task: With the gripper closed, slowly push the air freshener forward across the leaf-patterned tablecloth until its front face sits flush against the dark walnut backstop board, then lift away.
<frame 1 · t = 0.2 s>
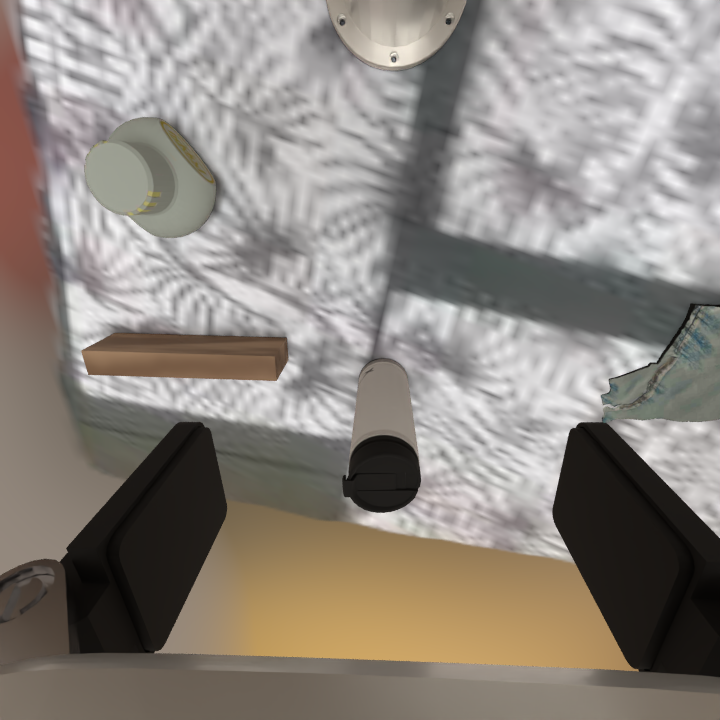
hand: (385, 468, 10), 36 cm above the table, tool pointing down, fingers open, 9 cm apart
air freshener: (176, 181, 42), on the table
travel mug: (381, 379, 50), on the table
board: (201, 346, 49), on the table
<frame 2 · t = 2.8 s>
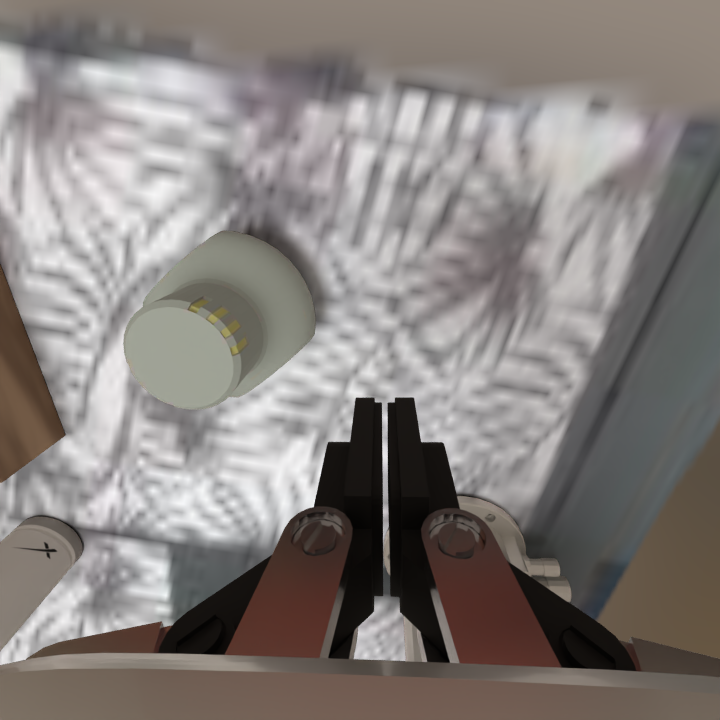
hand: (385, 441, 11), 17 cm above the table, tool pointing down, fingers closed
air freshener: (247, 306, 28), on the table
travel mug: (53, 536, 38), on the table
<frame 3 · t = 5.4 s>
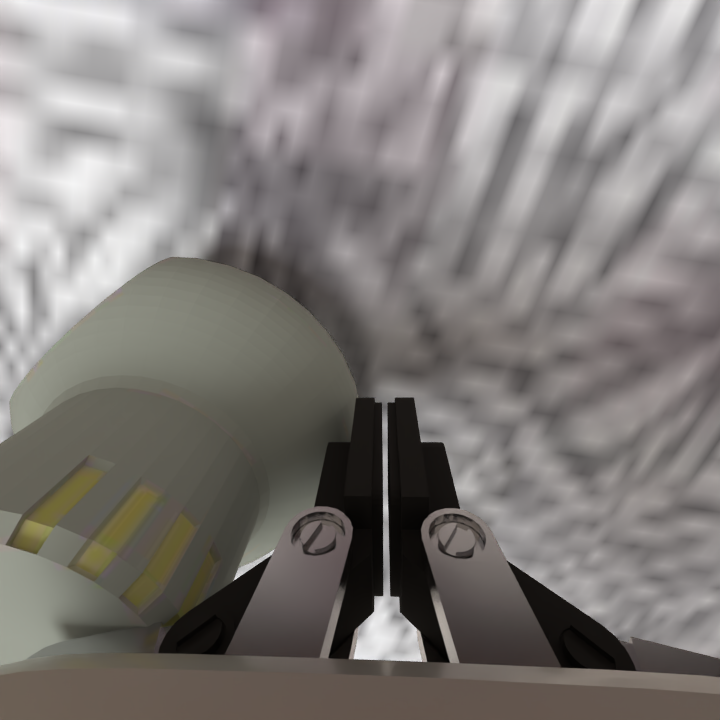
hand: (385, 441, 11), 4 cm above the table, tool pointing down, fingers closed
air freshener: (232, 382, 16), on the table, touching gripper
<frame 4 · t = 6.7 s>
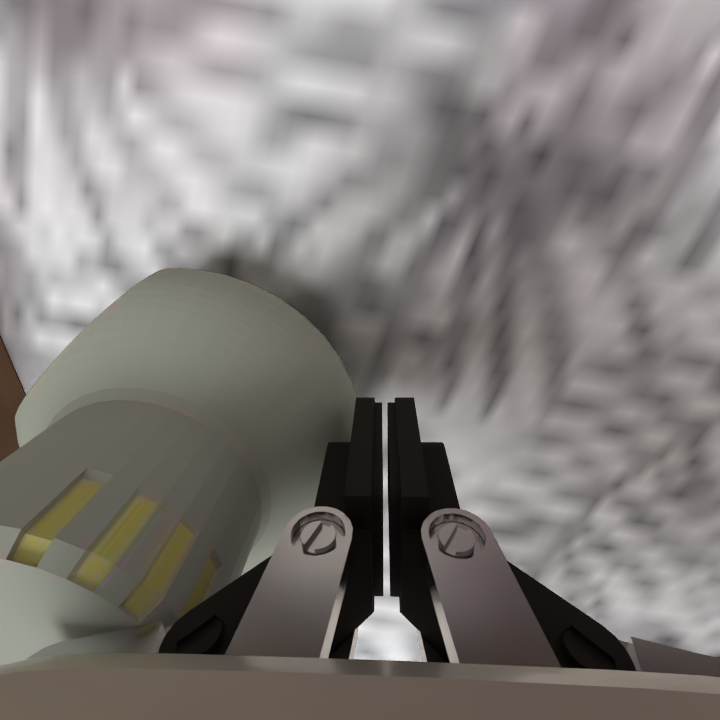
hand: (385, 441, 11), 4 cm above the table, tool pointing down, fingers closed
air freshener: (234, 388, 16), on the table, touching gripper
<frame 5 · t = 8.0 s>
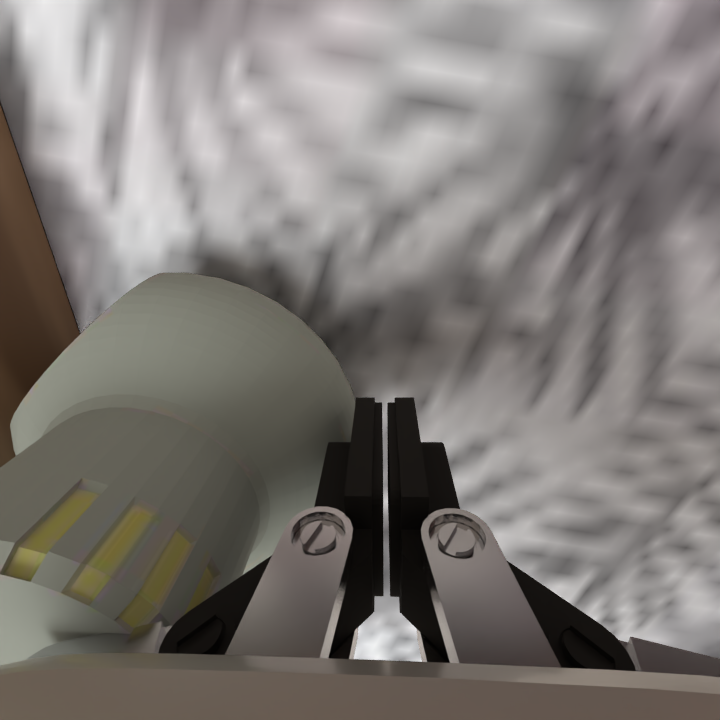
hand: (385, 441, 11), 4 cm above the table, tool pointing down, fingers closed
air freshener: (232, 392, 16), on the table, touching board, gripper
board: (61, 383, 16), on the table
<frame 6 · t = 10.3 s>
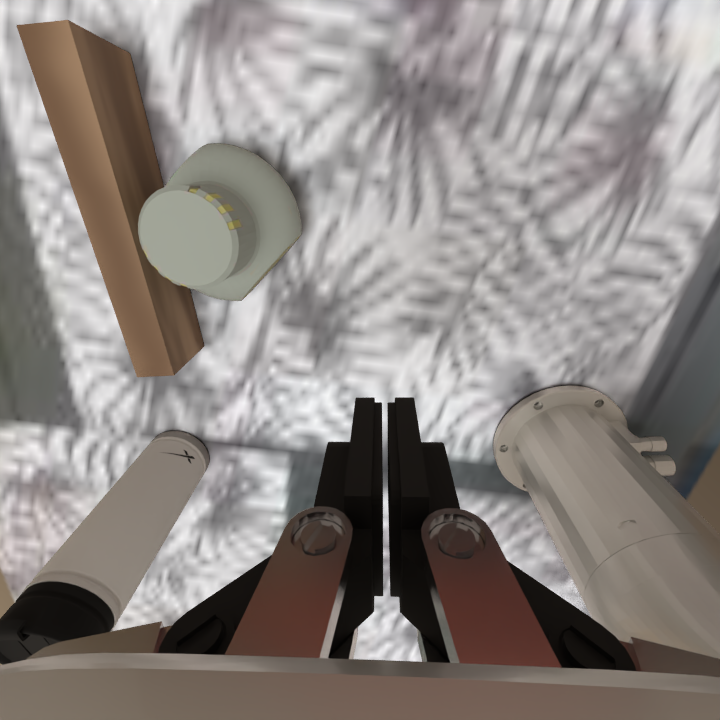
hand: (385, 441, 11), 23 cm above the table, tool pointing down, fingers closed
air freshener: (241, 223, 31), on the table
travel mug: (181, 451, 41), on the table
board: (154, 222, 31), on the table
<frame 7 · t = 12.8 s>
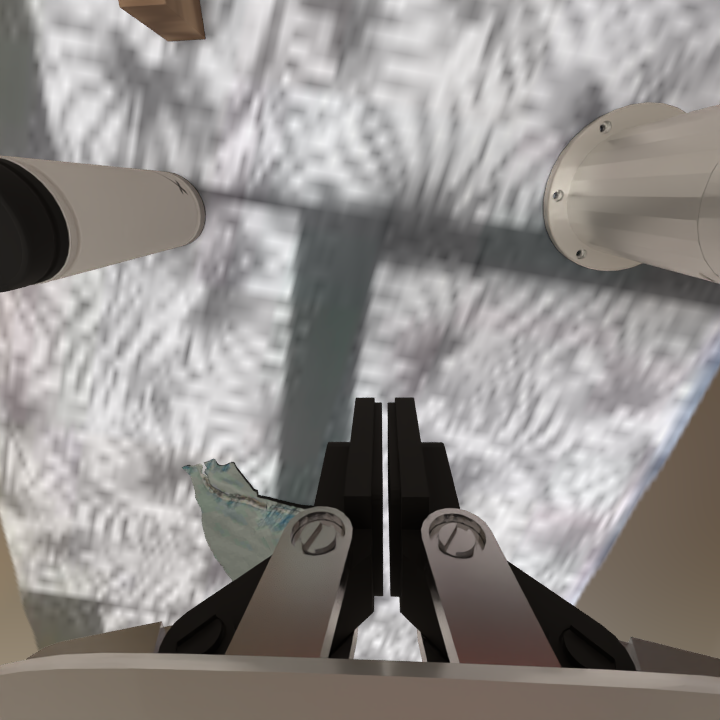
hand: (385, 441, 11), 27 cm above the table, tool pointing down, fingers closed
travel mug: (172, 208, 35), on the table
decorative slab: (271, 541, 52), on the table
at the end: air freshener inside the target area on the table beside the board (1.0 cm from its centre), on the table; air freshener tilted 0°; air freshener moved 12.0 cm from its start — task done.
